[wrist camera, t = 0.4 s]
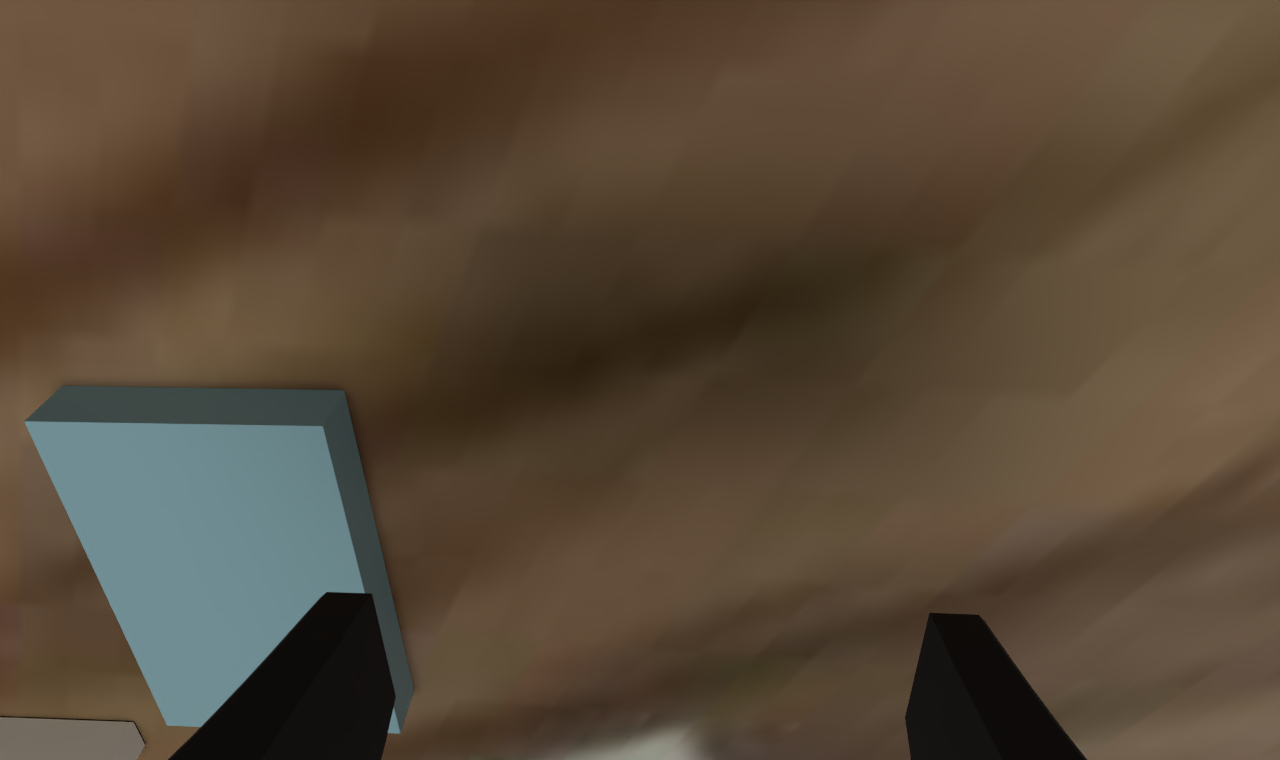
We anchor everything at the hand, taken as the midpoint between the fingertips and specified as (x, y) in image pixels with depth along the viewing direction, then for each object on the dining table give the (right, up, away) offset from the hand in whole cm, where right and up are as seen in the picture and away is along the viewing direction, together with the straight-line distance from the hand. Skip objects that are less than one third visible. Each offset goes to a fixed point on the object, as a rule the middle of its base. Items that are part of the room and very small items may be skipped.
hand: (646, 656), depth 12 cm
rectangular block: (-11, -1, +13) cm, 17 cm away
